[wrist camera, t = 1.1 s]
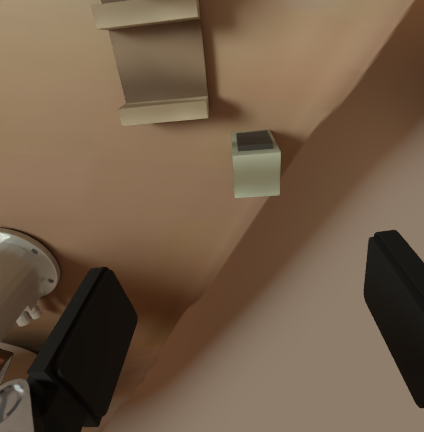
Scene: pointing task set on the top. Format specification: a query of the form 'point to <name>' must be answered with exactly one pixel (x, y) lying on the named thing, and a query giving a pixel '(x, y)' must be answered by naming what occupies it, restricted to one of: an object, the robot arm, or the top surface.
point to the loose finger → (255, 164)
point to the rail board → (157, 58)
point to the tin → (4, 362)
